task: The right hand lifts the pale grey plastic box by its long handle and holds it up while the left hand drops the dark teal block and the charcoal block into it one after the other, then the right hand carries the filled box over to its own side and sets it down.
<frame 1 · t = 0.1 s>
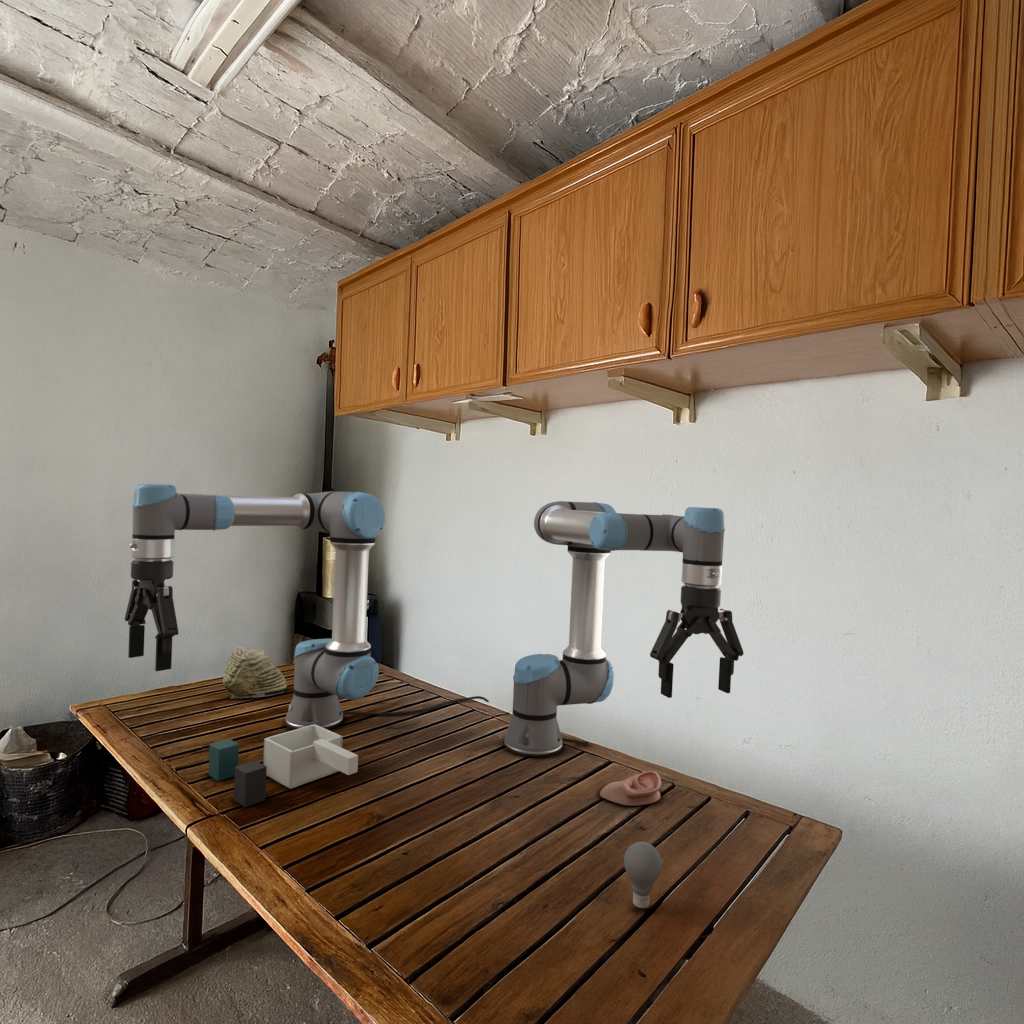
left hand: (149, 663, 129), 28 cm above the table, fingers open, 13 cm apart
right hand: (695, 693, 125), 28 cm above the table, fingers open, 13 cm apart
teal block: (223, 774, 142), on the table
anatomical model: (630, 795, 141), on the table
fossil: (254, 694, 198), on the table
handled box: (302, 771, 145), on the table
charcoal block: (249, 800, 131), on the table
light bulb: (640, 906, 102), on the table
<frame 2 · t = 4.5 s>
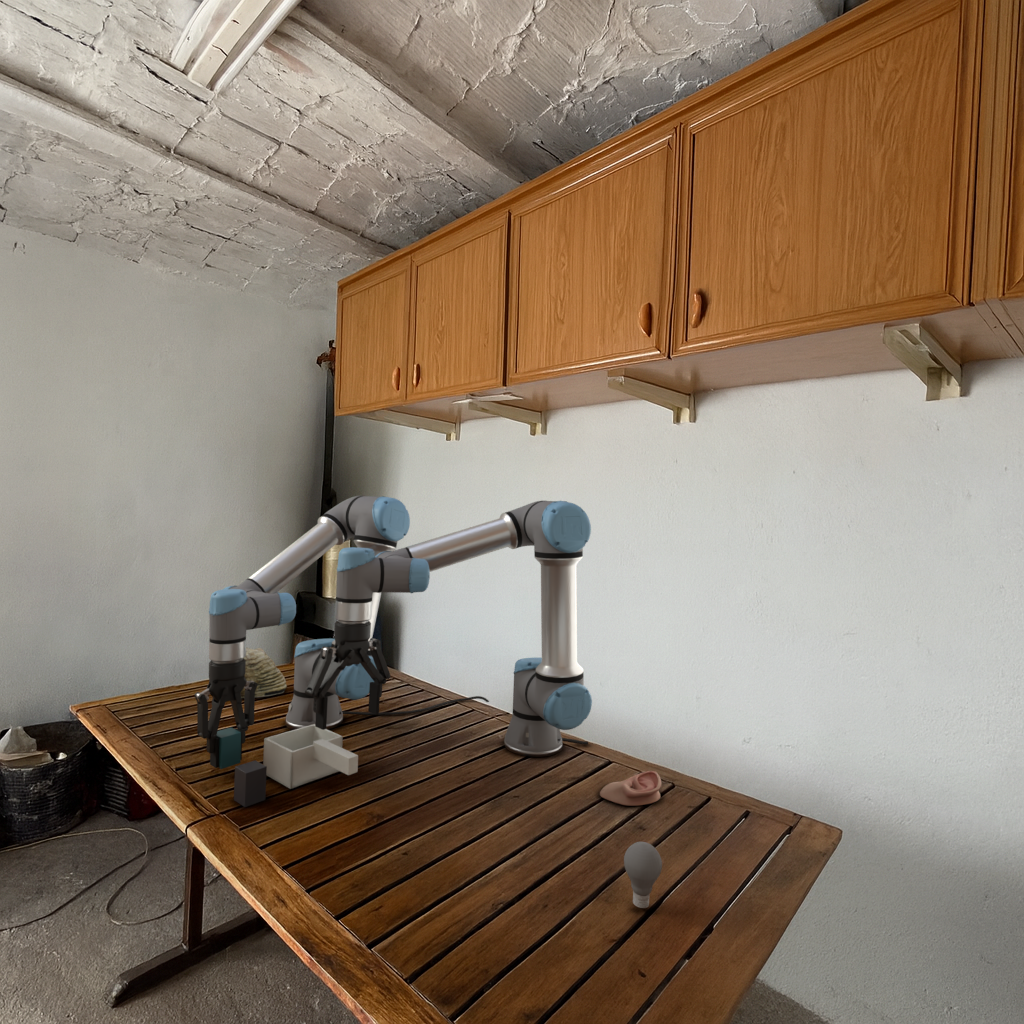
left hand: (226, 761, 142), 3 cm above the table, fingers closed on teal block, 4 cm apart
right hand: (348, 720, 135), 16 cm above the table, fingers open, 13 cm apart
teal block: (226, 763, 142), point 2 cm above the table, touching left hand
everything else where it was.
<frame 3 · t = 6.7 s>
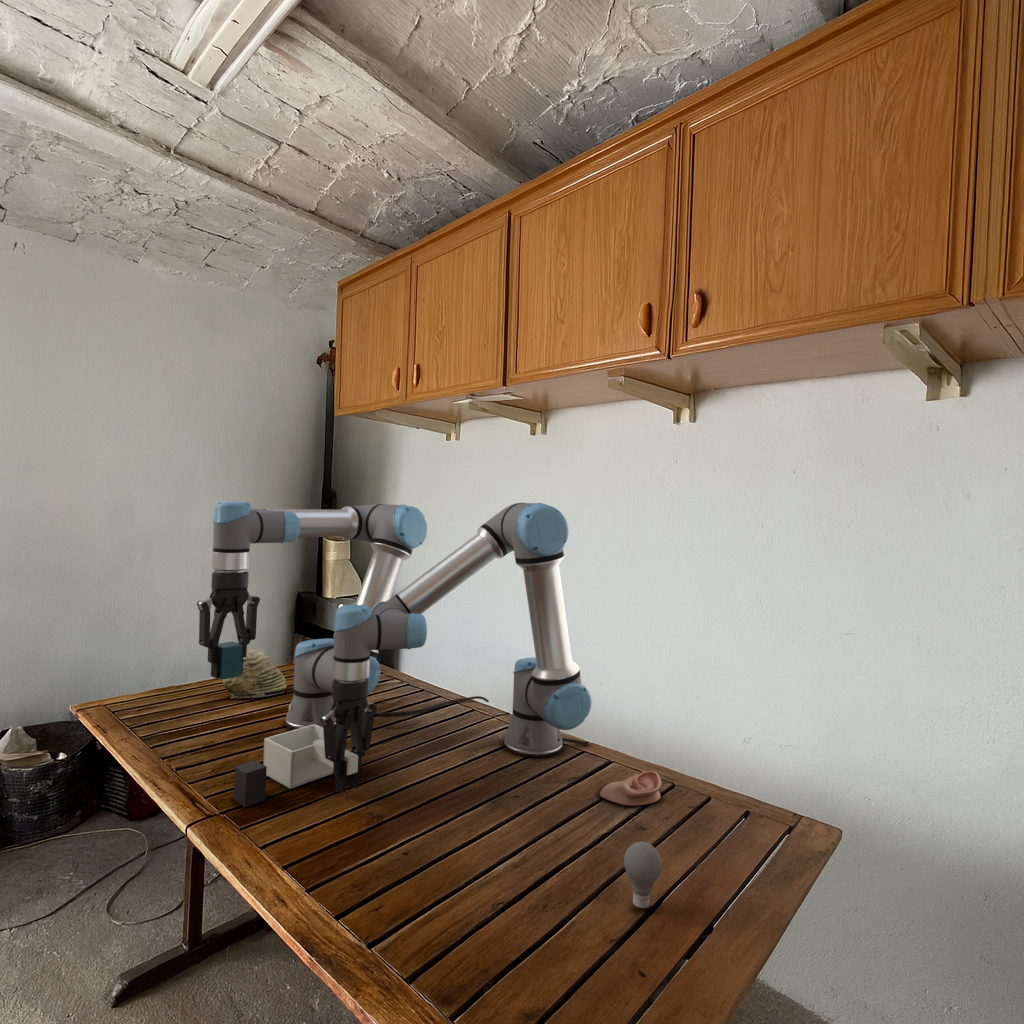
left hand: (226, 674, 142), 23 cm above the table, fingers closed on teal block, 4 cm apart
right hand: (346, 787, 135), 2 cm above the table, fingers closed on handled box, 2 cm apart
teal block: (226, 675, 142), point 22 cm above the table, touching left hand
handled box: (302, 771, 145), on the table, touching right hand
everything else where it was.
when the left hand's fingers open (20 cm above the table, at t = 10.7 s): teal block drops 11 cm, resting on handled box.
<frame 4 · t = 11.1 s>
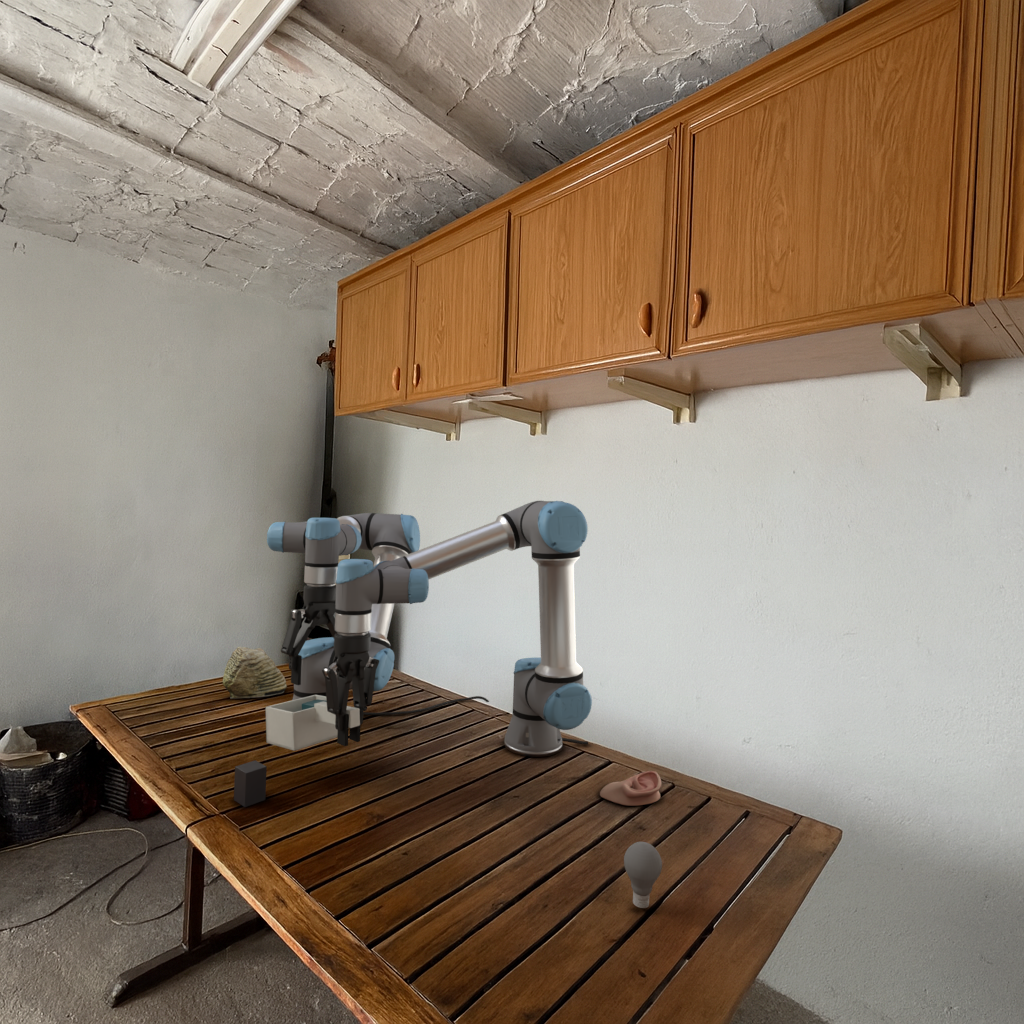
left hand: (317, 678, 147), 21 cm above the table, fingers open, 10 cm apart
right hand: (348, 741, 135), 11 cm above the table, fingers closed on handled box, 2 cm apart
teal block: (316, 732, 147), point 8 cm above the table, tilted 7°, touching handled box
handled box: (306, 738, 145), point 8 cm above the table, tilted 7°, touching right hand, teal block
everything else where it was.
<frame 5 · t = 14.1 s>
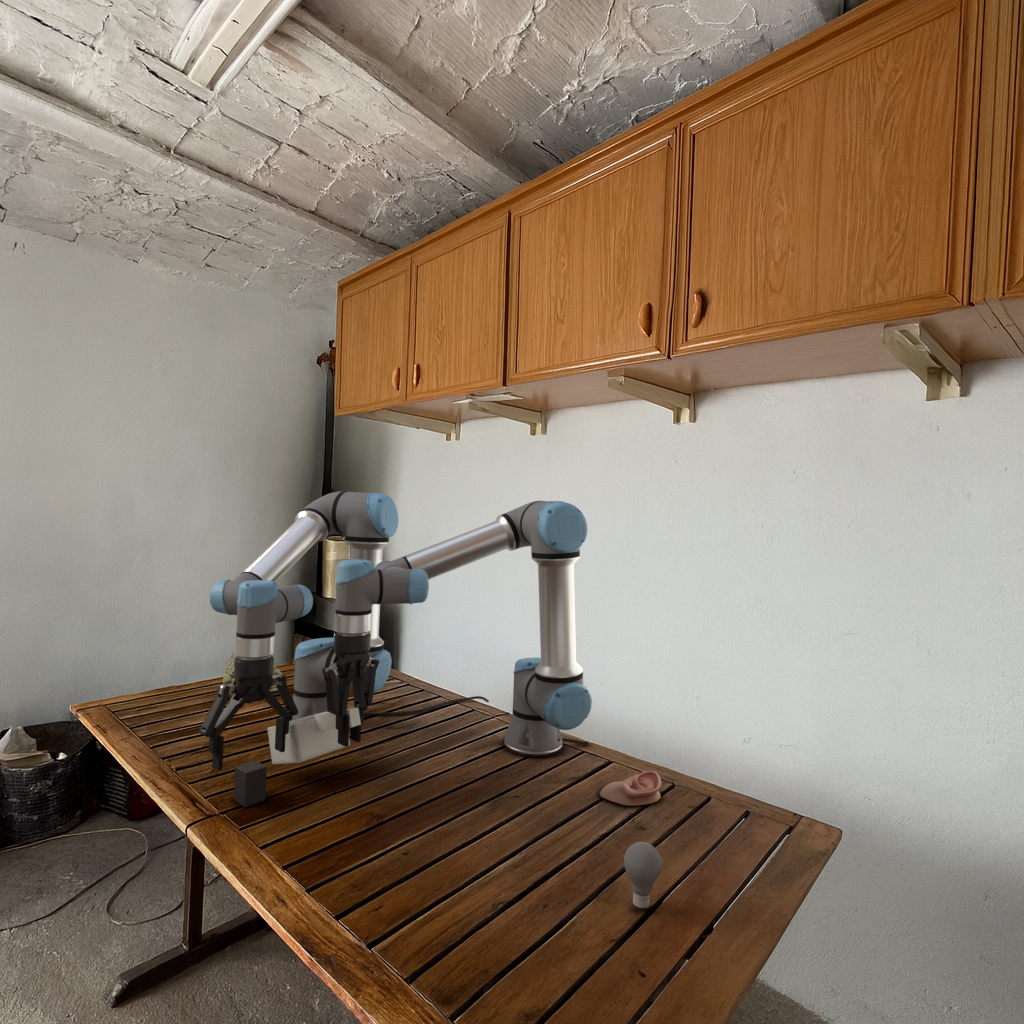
left hand: (249, 759, 130), 9 cm above the table, fingers open, 13 cm apart
right hand: (349, 742, 135), 11 cm above the table, fingers closed on handled box, 2 cm apart
teal block: (321, 748, 146), point 5 cm above the table, tilted 18°, touching handled box
handled box: (311, 754, 144), point 5 cm above the table, tilted 18°, touching left hand, right hand, teal block
everything else where it was.
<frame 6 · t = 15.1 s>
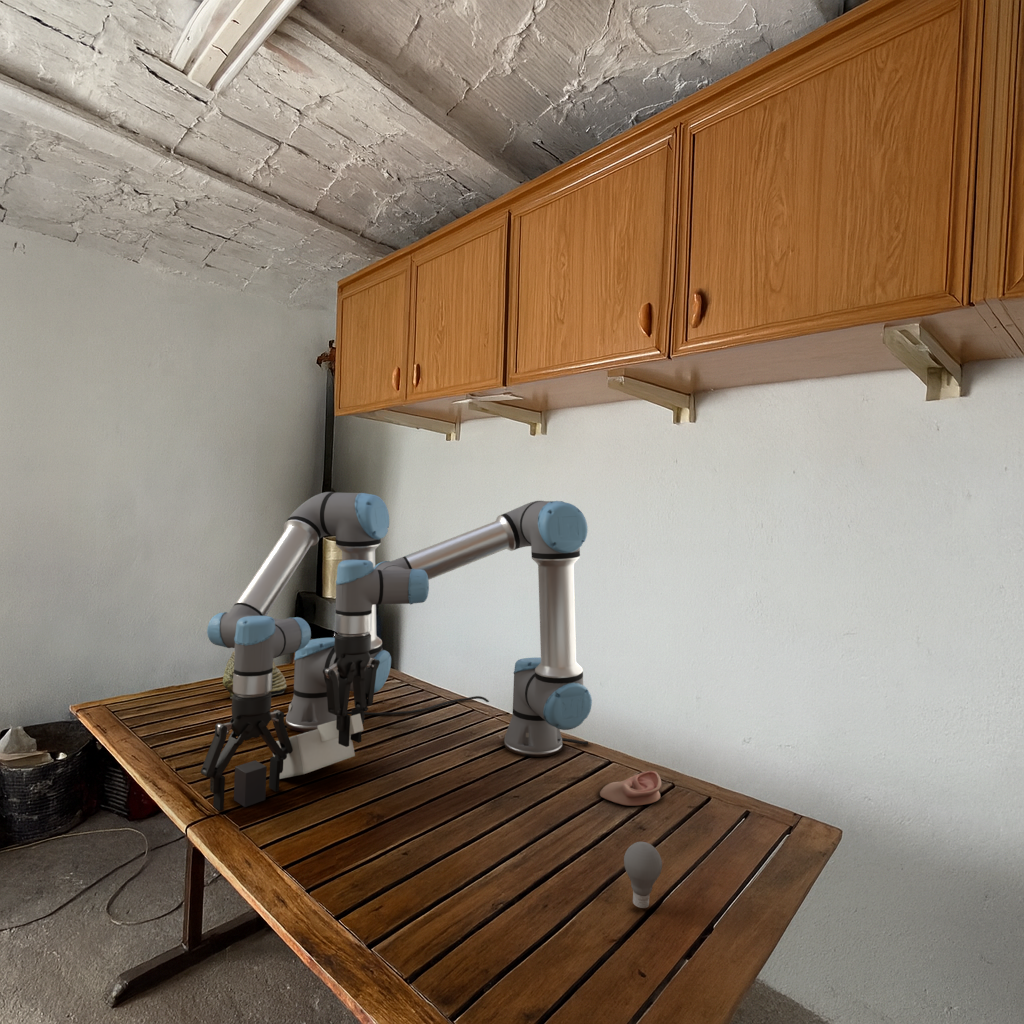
left hand: (247, 798, 130), 1 cm above the table, fingers open, 11 cm apart
right hand: (349, 742, 135), 11 cm above the table, fingers closed on handled box, 2 cm apart
teal block: (326, 761, 145), point 3 cm above the table, tilted 23°
handled box: (316, 767, 143), point 2 cm above the table, tilted 23°, touching right hand, left hand
everything else where it was.
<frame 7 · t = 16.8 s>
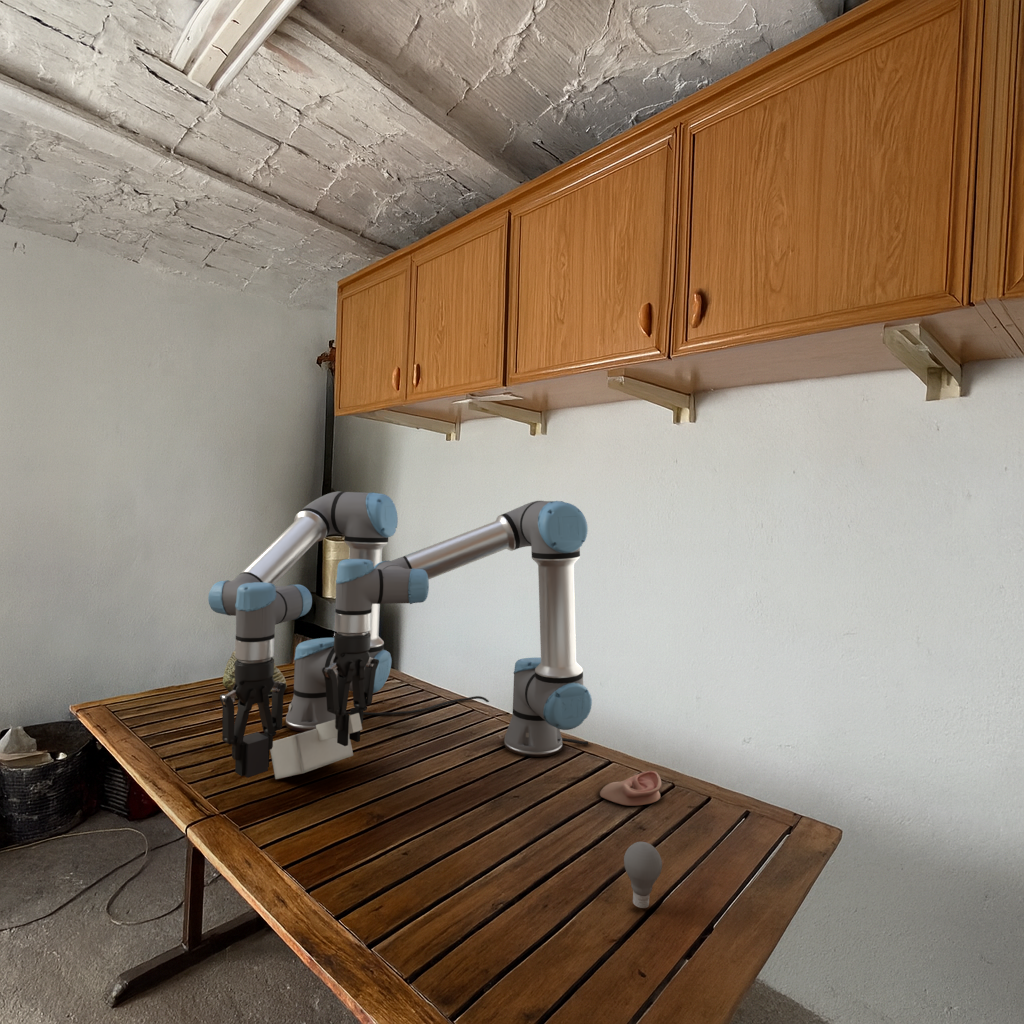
left hand: (252, 769, 131), 6 cm above the table, fingers closed on charcoal block, 4 cm apart
right hand: (348, 741, 135), 11 cm above the table, fingers closed on handled box, 2 cm apart
teal block: (324, 761, 145), point 3 cm above the table, tilted 24°, touching handled box
handled box: (314, 767, 142), point 2 cm above the table, tilted 23°, touching right hand, teal block
charcoal block: (252, 771, 131), point 6 cm above the table, touching left hand
everything else where it was.
when the left hand's fingers open (20 cm above the table, at t = 19.6 s): charcoal block drops 18 cm, resting on handled box.
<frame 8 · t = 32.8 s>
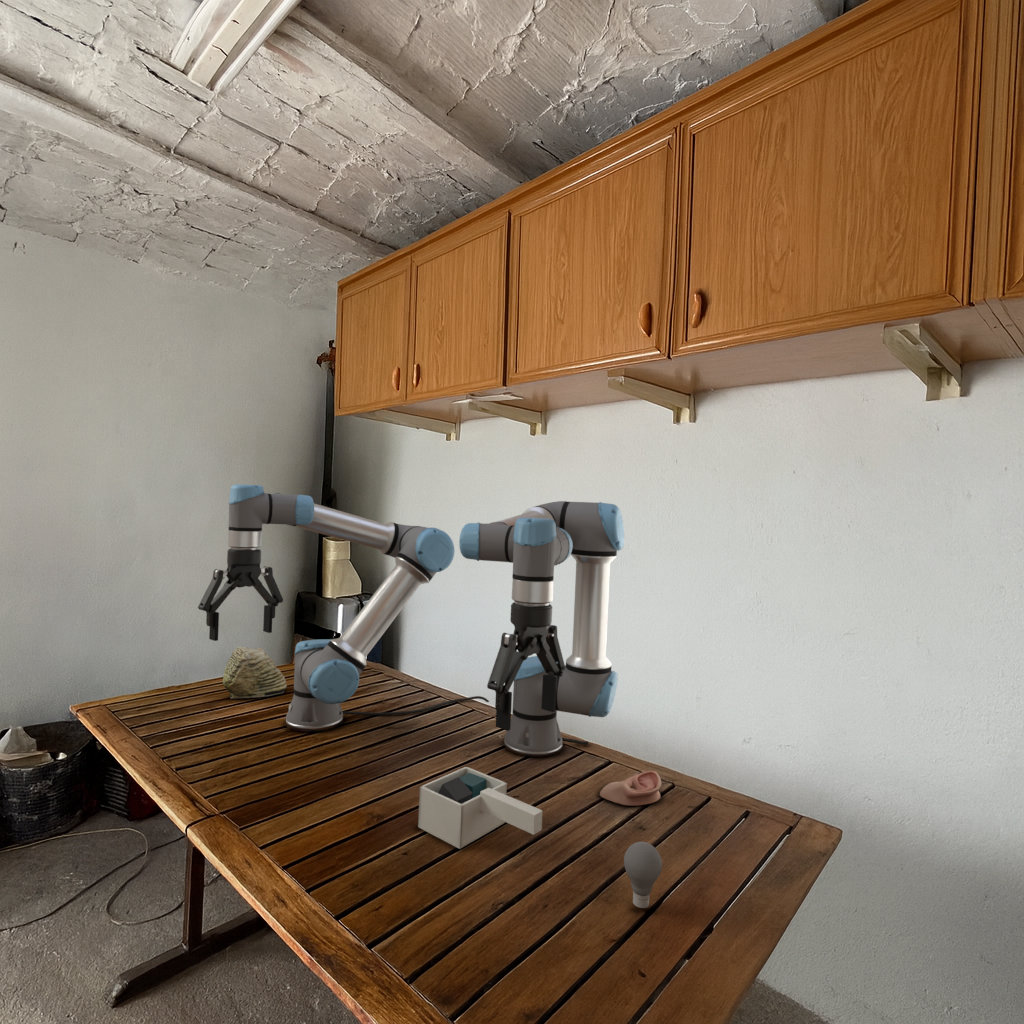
left hand: (241, 635, 153), 29 cm above the table, fingers open, 13 cm apart
right hand: (526, 719, 115), 25 cm above the table, fingers open, 13 cm apart
teal block: (469, 813, 128), point 1 cm above the table, touching handled box
handled box: (462, 825, 125), on the table, touching charcoal block, teal block
charcoal block: (445, 815, 125), point 2 cm above the table, tilted 26°, touching handled box
everything else where it was.
at the end: teal block inside the target area on the handled box (3.6 cm from its centre), point 0.6 cm above the handled box's base; charcoal block inside the target area on the handled box (3.5 cm from its centre), point 1.6 cm above the handled box's base; handled box inside the target area (1.7 cm from its centre), on the table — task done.
